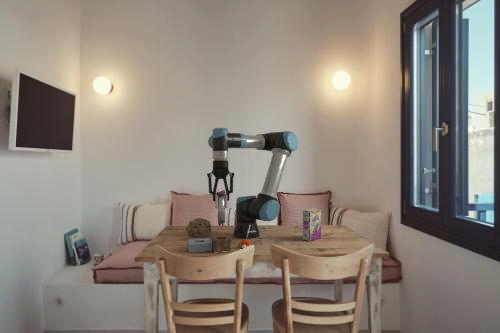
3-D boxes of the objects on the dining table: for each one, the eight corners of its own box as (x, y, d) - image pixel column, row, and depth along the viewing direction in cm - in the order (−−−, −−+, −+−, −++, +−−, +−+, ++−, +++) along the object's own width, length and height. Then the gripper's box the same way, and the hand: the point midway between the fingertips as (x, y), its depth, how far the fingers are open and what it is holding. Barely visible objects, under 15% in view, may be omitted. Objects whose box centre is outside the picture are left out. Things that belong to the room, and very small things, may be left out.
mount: (227, 247, 171) (227, 235, 171) (230, 251, 163) (230, 239, 163) (211, 248, 169) (211, 236, 169) (214, 253, 161) (214, 240, 161)
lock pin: (224, 221, 168) (224, 191, 168) (226, 223, 164) (226, 192, 164) (216, 222, 167) (216, 192, 167) (217, 224, 163) (217, 192, 163)
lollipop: (257, 249, 168) (257, 225, 168) (238, 249, 167) (237, 225, 167) (255, 246, 174) (255, 222, 174) (237, 246, 173) (237, 223, 173)
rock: (213, 238, 194) (209, 222, 193) (188, 245, 193) (184, 229, 191) (212, 227, 214) (208, 213, 213) (190, 233, 213) (186, 219, 211)
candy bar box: (309, 241, 182) (309, 211, 182) (302, 240, 186) (302, 210, 186) (321, 238, 190) (321, 209, 190) (314, 236, 194) (314, 208, 194)
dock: (209, 245, 175) (209, 237, 175) (212, 251, 164) (212, 243, 164) (187, 247, 172) (187, 239, 172) (189, 252, 162) (189, 244, 162)
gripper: (203, 160, 159) (204, 209, 160) (239, 159, 163) (240, 208, 164) (201, 160, 167) (202, 207, 167) (236, 159, 171) (236, 205, 171)
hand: (221, 207), depth 166 cm, fingers closed on lock pin, 4 cm apart
